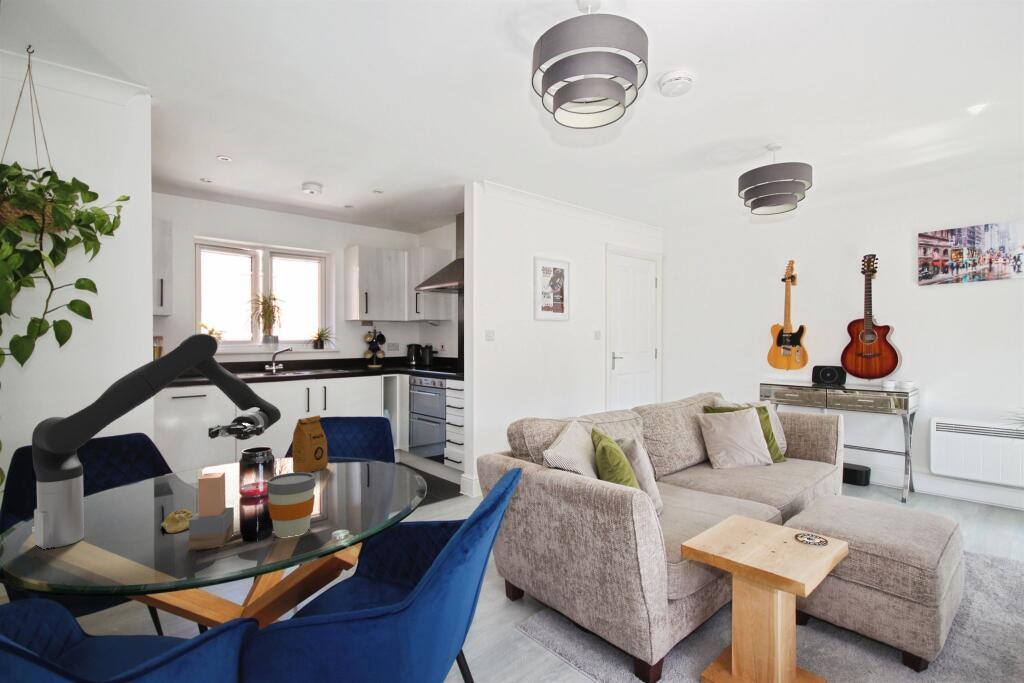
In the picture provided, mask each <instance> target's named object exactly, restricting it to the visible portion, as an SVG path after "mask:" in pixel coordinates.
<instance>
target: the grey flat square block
mask: <svg viewBox="0 0 1024 683" xmlns="http://www.w3.org/2000/svg"><path fill="white" fill-rule="evenodd" d="M234 508H235V507H234V506H232V507H231V506H230V507H226V509H225V510H224V511H223V513H222V514H221V515H217V516H207V517H199V511H198V512H197V513H196V514H195V515H194V516H193V517H192V518H191V519H190V520H189V529H188V531H189V532H188V534H189V535H201V534H214V533H224V532H225V531H226V529H227V528H228V527H229V526H230V525H231V524H232V523H233V522H234V521H235V513H234V510H235V509H234ZM234 523H235V522H234ZM189 535H188V536H189Z"/></svg>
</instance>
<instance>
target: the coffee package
mask: <svg viewBox="0 0 1024 683" xmlns="http://www.w3.org/2000/svg"><path fill="white" fill-rule="evenodd" d="M321 419H322V418H321V415H320V414H318V415H314V416H310V417H309V416H308V417H305V418H299V419H298V420H297V423H296V425H295V428H294V429H293V430H294V431H293V432H292V434H293V435H292V450H291V451H292V473H297V472H305V473H312V472H317V471H320V470H323V469H326V468H327V467H328V441H327V437H326V435H325V432H324V429H323V427H322V425H321V422H320V420H321Z"/></svg>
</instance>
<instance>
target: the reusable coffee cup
mask: <svg viewBox="0 0 1024 683" xmlns="http://www.w3.org/2000/svg"><path fill="white" fill-rule="evenodd" d="M315 487H316V477H315V474H314V473H312V472H310V473H305V472H297V473H294V472H289V473H288V472H287V473H283V474H282V473H281V474H278V475H275V476H274V475H273V476H272V477H270V478H269V479H267V485H266V493H267V496H268V500H267V506H268V512H269V513H268V514H269V518H270V519H271V521H272V527H273V533H274V534H275V535H277V536H280V537H288V536H295V535H300V534H302V533H304V532H306V531H307V530H308V529H309V530H310V528H311V527H310V525H311V518H312V514H313V513H314V505H315V497H316V496H315V494H314V492H315ZM274 534H273V535H274ZM275 535H274V536H275Z"/></svg>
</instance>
